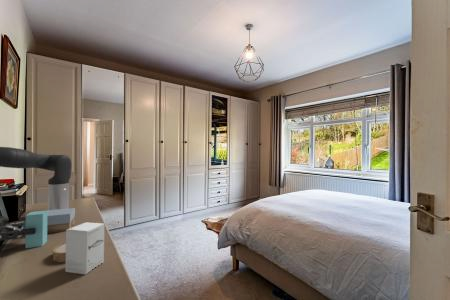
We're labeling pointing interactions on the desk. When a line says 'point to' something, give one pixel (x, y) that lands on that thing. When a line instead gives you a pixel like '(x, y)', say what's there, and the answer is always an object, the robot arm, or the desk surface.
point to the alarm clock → (60, 252)
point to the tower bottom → (60, 226)
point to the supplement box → (84, 247)
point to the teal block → (40, 223)
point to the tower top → (60, 216)
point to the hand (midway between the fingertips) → (40, 226)
